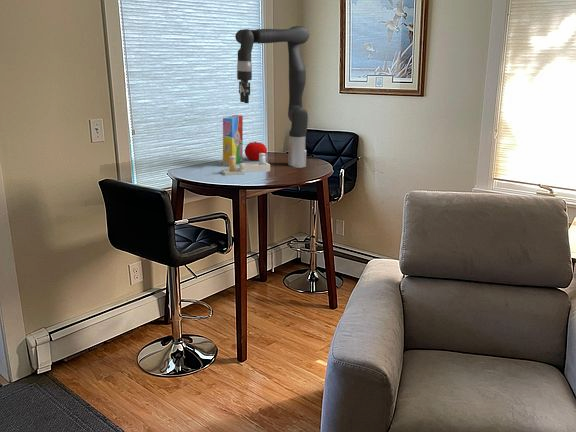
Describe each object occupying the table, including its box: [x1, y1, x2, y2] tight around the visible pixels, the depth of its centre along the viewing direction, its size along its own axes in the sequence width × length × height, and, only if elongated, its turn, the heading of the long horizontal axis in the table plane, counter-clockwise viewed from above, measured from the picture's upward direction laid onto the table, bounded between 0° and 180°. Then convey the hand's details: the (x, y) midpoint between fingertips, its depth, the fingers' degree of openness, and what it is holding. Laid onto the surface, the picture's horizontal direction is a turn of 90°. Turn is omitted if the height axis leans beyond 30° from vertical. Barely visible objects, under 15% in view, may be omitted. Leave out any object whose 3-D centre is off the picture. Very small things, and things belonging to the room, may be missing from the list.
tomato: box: [244, 141, 268, 161], centre depth 323 cm, size 12×13×11 cm
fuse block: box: [239, 161, 271, 173], centre depth 287 cm, size 15×7×4 cm, turn 109°
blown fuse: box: [228, 156, 237, 172], centre depth 279 cm, size 3×3×9 cm
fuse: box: [258, 153, 266, 165], centre depth 288 cm, size 3×3×9 cm
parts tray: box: [220, 167, 245, 176], centre depth 280 cm, size 10×10×2 cm
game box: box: [222, 114, 244, 168], centre depth 303 cm, size 21×6×27 cm, turn 168°
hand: (244, 102), depth 281 cm, fingers open, 8 cm apart
